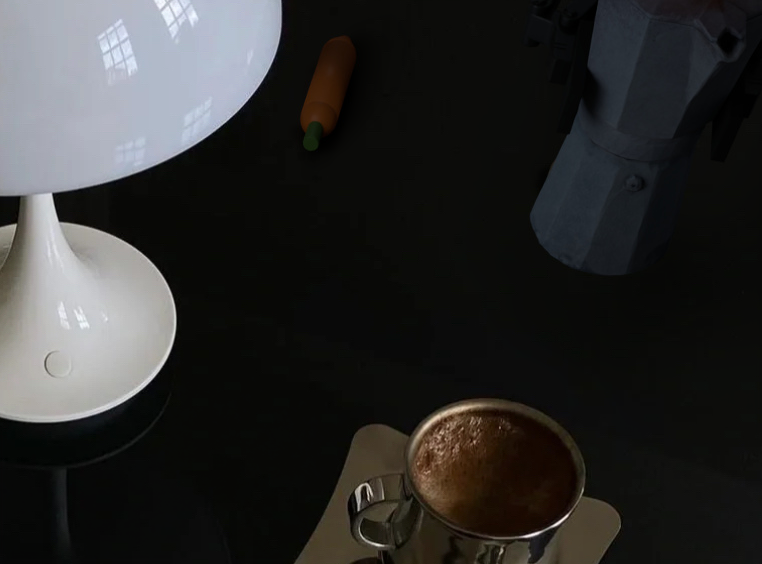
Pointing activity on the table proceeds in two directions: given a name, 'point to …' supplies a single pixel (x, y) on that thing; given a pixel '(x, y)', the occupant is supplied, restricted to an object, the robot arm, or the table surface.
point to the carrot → (327, 90)
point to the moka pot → (640, 128)
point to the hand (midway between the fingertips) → (647, 125)
